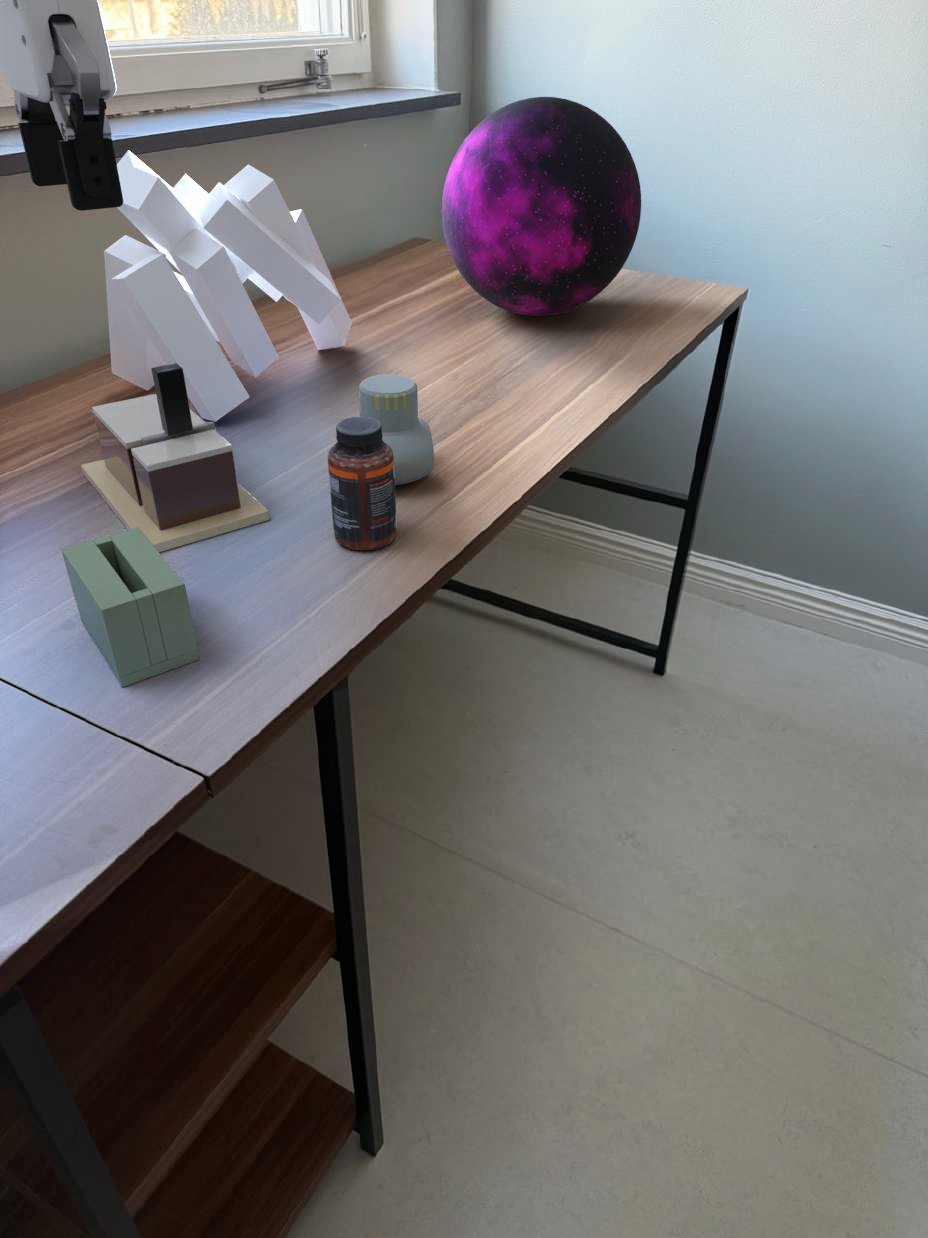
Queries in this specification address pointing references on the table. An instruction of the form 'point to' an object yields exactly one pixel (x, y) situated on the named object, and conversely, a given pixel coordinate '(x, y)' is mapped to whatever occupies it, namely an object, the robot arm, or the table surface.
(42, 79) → the robot arm
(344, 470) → the supplement bottle
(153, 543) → the cake
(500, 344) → the table surface
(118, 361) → the pile of blocks
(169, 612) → the knife block
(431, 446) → the air freshener
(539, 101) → the purple galaxy ball
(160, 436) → the knife
